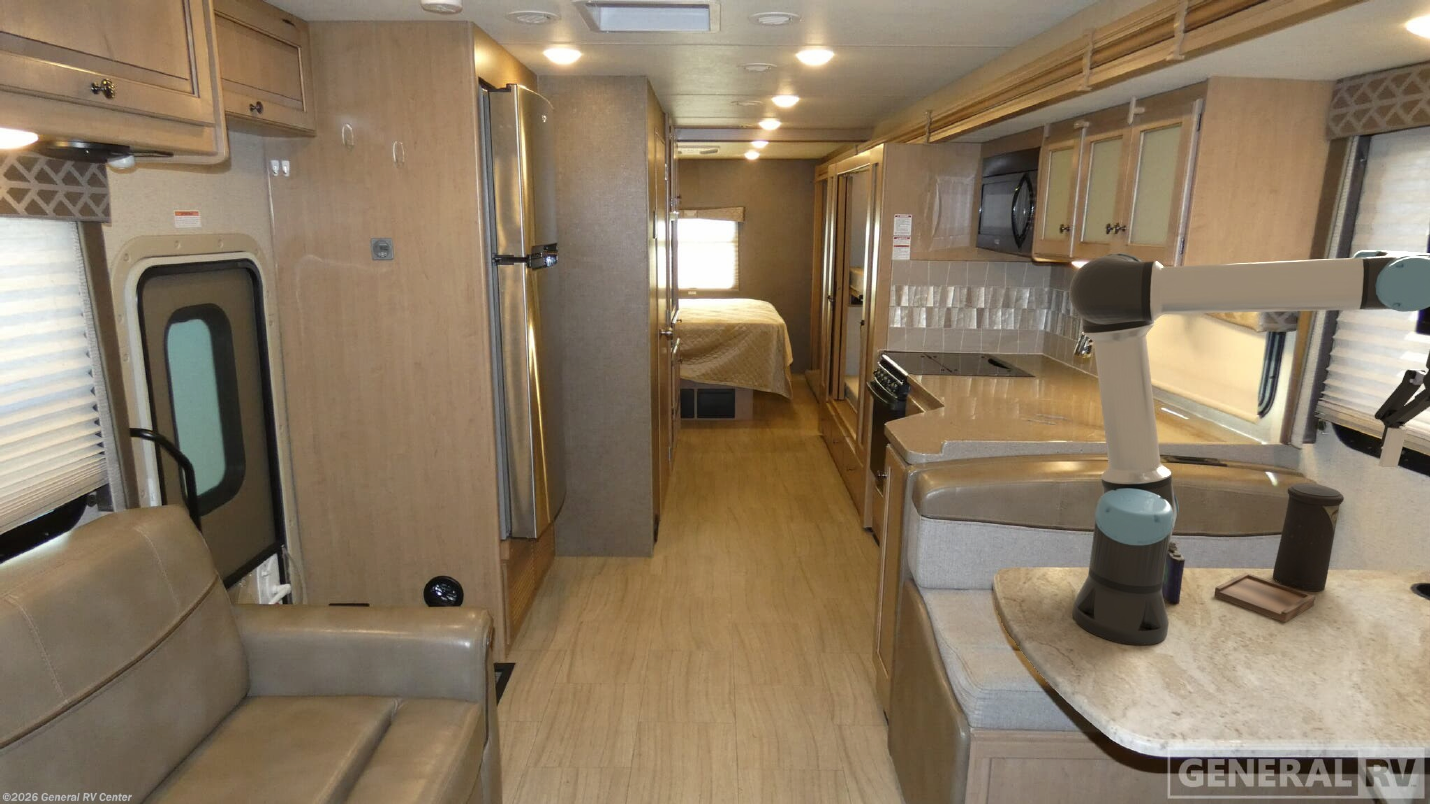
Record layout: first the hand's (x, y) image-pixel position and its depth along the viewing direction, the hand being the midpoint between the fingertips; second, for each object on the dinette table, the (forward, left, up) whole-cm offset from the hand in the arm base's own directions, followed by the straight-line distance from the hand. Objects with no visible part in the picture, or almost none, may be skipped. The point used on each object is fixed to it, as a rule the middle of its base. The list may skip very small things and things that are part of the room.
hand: (1427, 480), depth 126 cm
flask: (-33, +5, -31) cm, 45 cm away
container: (-11, +25, -31) cm, 41 cm away
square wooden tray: (-17, +12, -31) cm, 37 cm away
